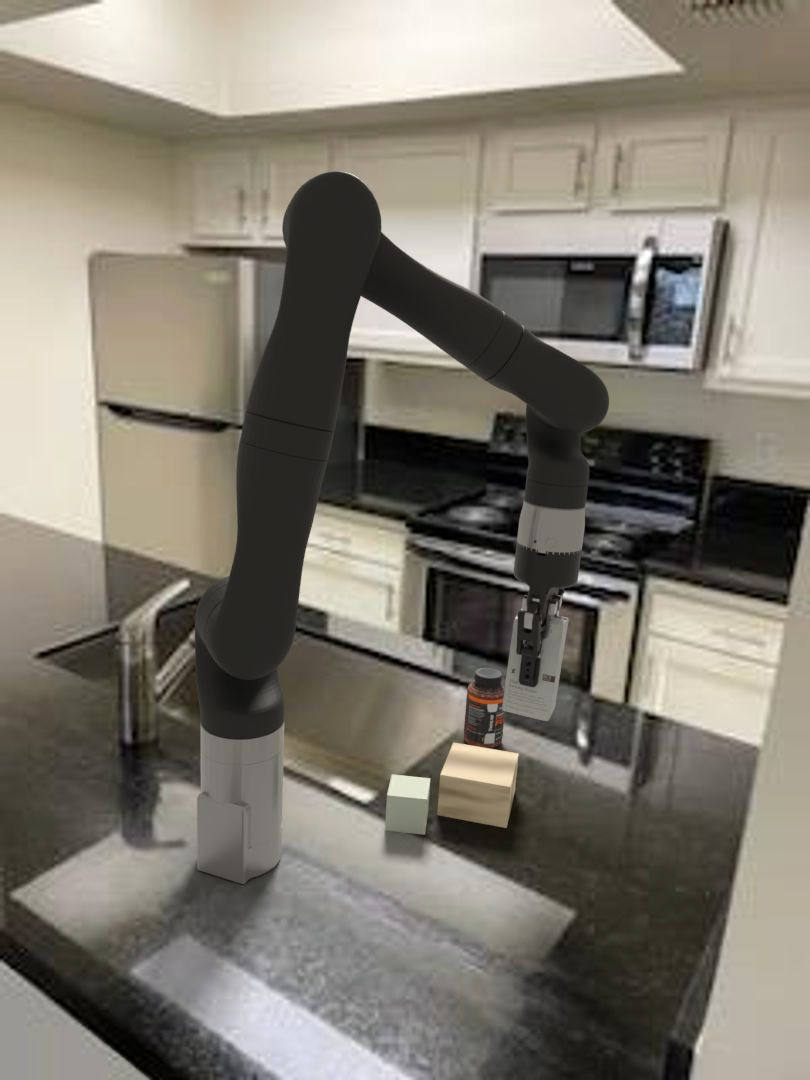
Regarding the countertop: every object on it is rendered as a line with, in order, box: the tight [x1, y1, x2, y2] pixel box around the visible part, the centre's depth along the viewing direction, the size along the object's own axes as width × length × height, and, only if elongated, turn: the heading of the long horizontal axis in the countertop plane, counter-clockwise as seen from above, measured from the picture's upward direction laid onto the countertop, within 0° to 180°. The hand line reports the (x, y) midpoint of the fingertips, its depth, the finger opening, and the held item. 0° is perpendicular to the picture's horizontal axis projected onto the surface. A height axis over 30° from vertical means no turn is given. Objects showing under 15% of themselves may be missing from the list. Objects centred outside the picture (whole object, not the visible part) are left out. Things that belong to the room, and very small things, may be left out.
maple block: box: [436, 742, 520, 829], centre depth 111 cm, size 9×9×6 cm
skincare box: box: [502, 608, 570, 722], centre depth 101 cm, size 6×4×12 cm
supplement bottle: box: [463, 667, 506, 749], centre depth 127 cm, size 6×6×11 cm
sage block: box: [384, 773, 431, 836], centre depth 106 cm, size 5×5×5 cm
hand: (532, 677), depth 102 cm, fingers closed on skincare box, 4 cm apart
